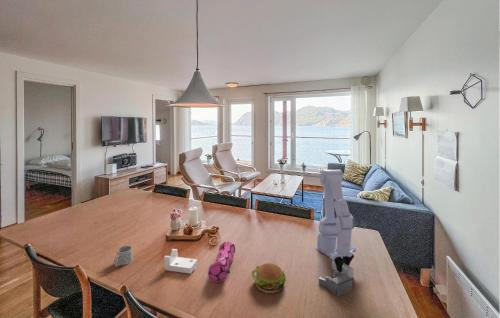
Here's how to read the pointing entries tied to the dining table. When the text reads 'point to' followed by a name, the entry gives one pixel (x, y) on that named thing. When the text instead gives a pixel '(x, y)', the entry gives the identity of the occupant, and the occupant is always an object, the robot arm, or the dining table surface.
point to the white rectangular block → (344, 269)
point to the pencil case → (222, 262)
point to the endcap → (337, 283)
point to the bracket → (179, 263)
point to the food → (269, 278)
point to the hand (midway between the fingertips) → (342, 269)
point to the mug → (124, 256)
